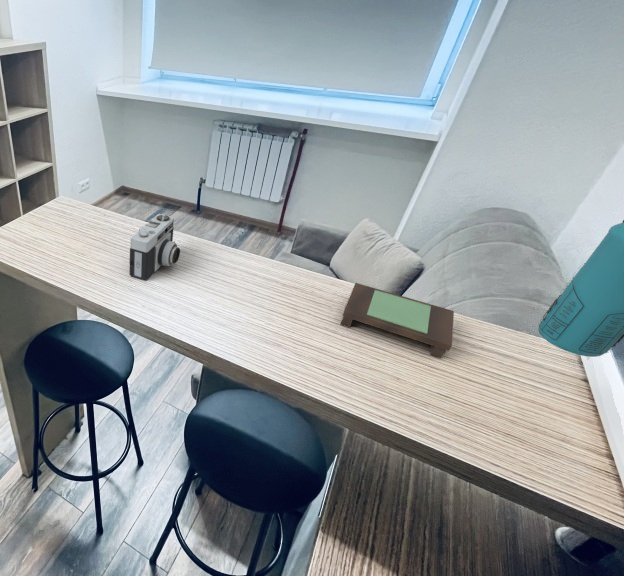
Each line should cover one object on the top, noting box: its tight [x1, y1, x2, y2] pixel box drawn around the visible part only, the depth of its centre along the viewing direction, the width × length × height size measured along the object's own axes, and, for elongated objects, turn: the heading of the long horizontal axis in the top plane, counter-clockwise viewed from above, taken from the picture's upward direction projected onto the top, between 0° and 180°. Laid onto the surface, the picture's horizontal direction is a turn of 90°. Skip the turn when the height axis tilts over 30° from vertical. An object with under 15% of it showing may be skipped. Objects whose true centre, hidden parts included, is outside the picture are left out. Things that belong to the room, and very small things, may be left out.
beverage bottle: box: [537, 221, 624, 358], centre depth 45 cm, size 6×7×20 cm
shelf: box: [340, 282, 455, 359], centre depth 74 cm, size 16×11×4 cm
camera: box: [129, 213, 181, 281], centre depth 90 cm, size 14×8×10 cm, turn 149°
